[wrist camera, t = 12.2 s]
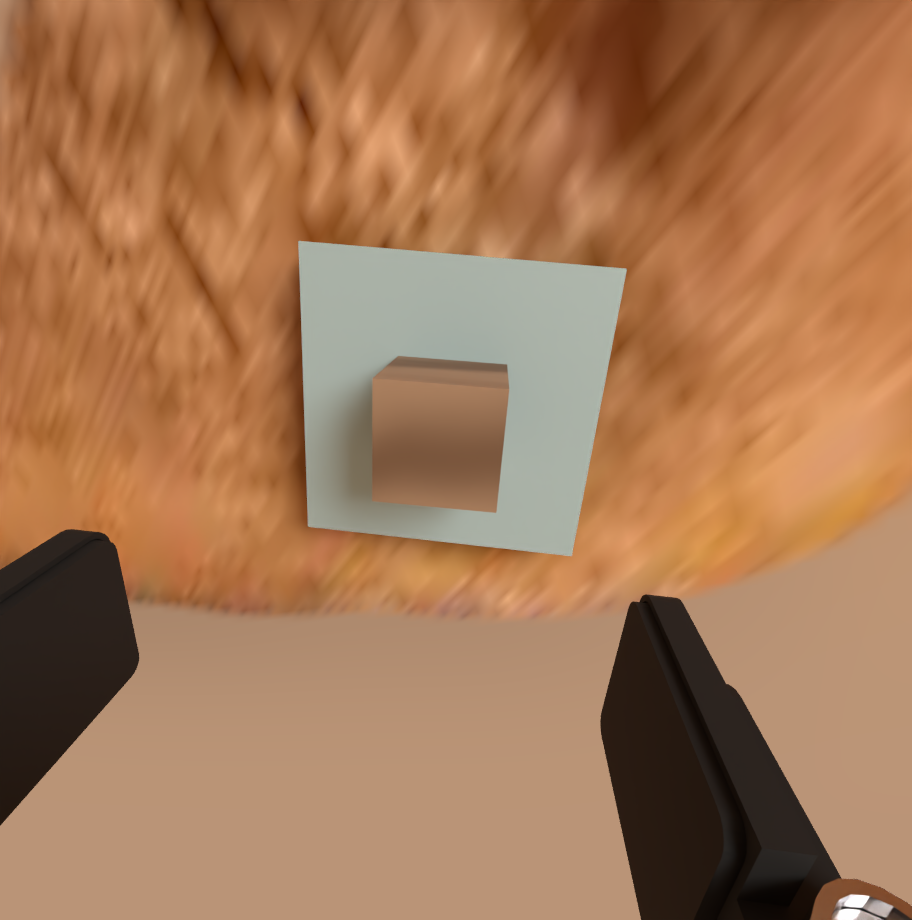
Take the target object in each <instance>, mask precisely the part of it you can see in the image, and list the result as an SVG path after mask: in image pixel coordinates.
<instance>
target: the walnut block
mask: <svg viewBox="0 0 912 920" xmlns="http://www.w3.org/2000/svg"><path fill="white" fill-rule="evenodd" d="M508 398H509V380H508V369H507V364H495V363H483V362H470V361H457V360H444V359H432V358H419V357H406V356H398V357H396V358H395V359H394V360H393V361H392V362H391V363H389V364H388V365H387V366H386V367H385V368H384V369H383V370H381V371H380V372H379V373H378V374H377V375H376V376H375V377H373V385H372V501H375V502H386V503H396V504H407V505H418V506H428V507H439V508H449V509H460V510H471V511H481V512H492V513H496V512H497V502H498V493H499V483H500V474H501V464H502V455H503V445H504V436H505V426H506V417H507V407H508Z"/></svg>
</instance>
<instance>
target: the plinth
mask: <svg viewBox="0 0 912 920" xmlns="http://www.w3.org/2000/svg"><path fill="white" fill-rule="evenodd" d="M298 243H299V273H300V303H301V333H302V363H303V393H304V423H305V452H306V482H307V512H308V527H314V528H323V529H332V530H341V531H350V532H359V533H368V534H377V535H386V536H395V537H404V538H413V539H422V540H431V541H440V542H449V543H458V544H467V545H476V546H485V547H494V548H503V549H512V550H521V551H530V552H539V553H548V554H557V555H566V556H572V552H573V546H574V541H575V536H576V531H577V526H578V520H579V515H580V510H581V505H582V499H583V494H584V489H585V484H586V479H587V473H588V468H589V463H590V458H591V453H592V447H593V442H594V437H595V432H596V427H597V421H598V416H599V411H600V406H601V401H602V395H603V390H604V385H605V380H606V375H607V369H608V364H609V359H610V354H611V349H612V343H613V338H614V333H615V328H616V323H617V317H618V312H619V307H620V302H621V297H622V291H623V286H624V281H625V276H626V271H627V269H623V268H612V267H600V266H588V265H576V264H564V263H553V262H541V261H529V260H517V259H505V258H494V257H482V256H470V255H458V254H447V253H435V252H423V251H411V250H399V249H388V248H376V247H364V246H352V245H340V244H329V243H317V242H305V241H298ZM398 356H406V357H419V358H432V359H444V360H457V361H470V362H483V363H495V364H507V369H508V380H509V398H508V407H507V417H506V426H505V436H504V445H503V455H502V464H501V474H500V483H499V493H498V502H497V512H496V513H492V512H481V511H471V510H460V509H449V508H439V507H428V506H418V505H407V504H396V503H386V502H375V501H372V385H373V377H375V376H376V375H377V374H378V373H379V372H380V371H381V370H383V369H384V368H385V367H386V366H387V365H388V364H389V363H391V362H392V361H393V360H394V359H395V358H396V357H398Z"/></svg>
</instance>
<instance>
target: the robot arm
mask: <svg viewBox="0 0 912 920" xmlns="http://www.w3.org/2000/svg"><path fill="white" fill-rule="evenodd" d="M138 662H139V653H138V647H137V643H136V638H135V633H134V628H133V624H132V619H131V614H130V610H129V605H128V600H127V595H126V591H125V586H124V581H123V576H122V572H121V567H120V562H119V558H118V553H117V549H116V546H115V545H114V544H113V543H111V542H110V540H109V538H108V537H107V536H106V535H105V534H103V533H100V532H91V531H82V530H73V529H71V530H65V531H63V532H60V533H59V534H57V535H56V536H54V537H52V538H51V539H49V540H48V541H46V542H44V543H43V544H41V545H39V546H38V547H36V548H35V549H33V550H31V551H30V552H28V553H27V554H25V555H23V556H22V557H20V558H19V559H17V560H15V561H14V562H12V563H11V564H9V565H7V566H6V567H4V568H2V569H1V570H0V825H1V824H2V823H3V822H4V821H5V820H6V818H7V817H8V816H9V815H10V814H11V813H12V812H13V810H14V809H15V808H16V807H17V806H18V805H19V804H20V803H21V801H22V800H23V799H24V798H25V797H26V796H27V795H28V793H29V792H30V791H31V790H32V789H33V788H34V786H36V784H37V783H38V782H39V781H40V780H41V779H42V778H43V776H44V775H45V774H46V773H47V772H48V771H49V770H50V769H51V767H52V766H53V765H54V764H55V763H56V762H57V761H58V759H59V758H60V757H61V756H62V755H63V754H64V753H65V752H66V750H67V749H68V748H69V747H70V746H71V745H72V744H73V742H74V741H75V740H76V739H77V738H78V736H79V735H80V734H81V733H82V732H83V731H84V730H85V729H86V728H87V726H88V725H89V724H90V723H91V722H92V721H93V720H94V719H95V717H96V716H97V715H98V714H99V713H100V712H101V711H102V710H103V708H104V707H105V706H106V705H107V704H108V703H109V702H110V700H111V699H112V698H113V697H114V696H115V695H116V694H117V692H118V691H119V690H120V689H121V688H122V687H123V686H124V684H125V683H126V682H127V681H128V680H129V679H130V678H131V677H132V675H133V674H134V672H135V670H136V668H137V665H138ZM601 735H602V740H603V744H604V749H605V754H606V759H607V763H608V767H609V773H610V777H611V782H612V787H613V791H614V796H615V800H616V805H617V810H618V814H619V819H620V824H621V828H622V833H623V837H624V842H625V847H626V851H627V856H628V860H629V865H630V870H631V875H632V879H633V884H634V888H635V893H636V898H637V902H638V907H639V912H640V916H641V920H912V906H911V905H910V904H908V903H907V902H905V901H904V900H902V899H900V898H898V897H897V896H895V895H893V894H892V893H890V892H888V891H886V890H885V889H883V888H881V887H878V886H875V885H872V884H869V883H867V882H864V881H861V880H858V879H842V878H841V877H840V875H839V873H838V871H837V869H836V868H835V866H834V864H833V862H832V860H831V859H830V857H829V855H828V853H827V851H826V850H825V848H824V846H823V844H822V842H821V841H820V839H819V837H818V835H817V833H816V831H815V830H814V828H813V826H812V824H811V823H810V821H809V819H808V817H807V815H806V813H805V812H804V810H803V808H802V806H801V805H800V803H799V801H798V799H797V797H796V795H795V794H794V792H793V790H792V788H791V786H790V785H789V783H788V781H787V779H786V777H785V776H784V774H783V772H782V770H781V768H780V767H779V765H778V763H777V761H776V760H775V758H774V756H773V754H772V752H771V750H770V749H769V747H768V745H767V743H766V741H765V740H764V738H763V736H762V734H761V732H760V730H759V729H758V727H757V725H756V723H755V721H754V720H753V718H752V716H751V714H750V712H749V711H748V709H747V707H746V705H745V704H744V702H743V700H742V698H741V697H740V695H739V694H738V693H737V691H736V690H735V689H734V688H733V687H732V686H730V685H728V684H726V683H725V681H724V680H723V677H722V676H721V674H720V672H719V670H718V668H717V666H716V664H715V663H714V661H713V659H712V657H711V656H710V653H709V651H708V650H707V648H706V646H705V644H704V642H703V640H702V638H701V636H700V635H699V633H698V631H697V629H696V627H695V625H694V623H693V621H692V620H691V618H690V616H689V614H688V612H687V610H686V608H685V607H684V605H683V603H682V602H681V600H680V599H678V598H672V597H663V596H654V595H643V596H642V598H641V600H640V602H631V604H630V606H629V609H628V612H627V616H626V620H625V624H624V628H623V632H622V635H621V640H620V643H619V647H618V651H617V655H616V659H615V663H614V666H613V670H612V674H611V678H610V682H609V685H608V689H607V693H606V697H605V701H604V705H603V709H602V713H601Z"/></svg>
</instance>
